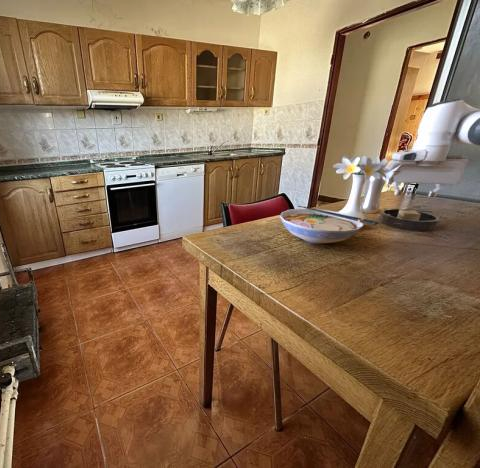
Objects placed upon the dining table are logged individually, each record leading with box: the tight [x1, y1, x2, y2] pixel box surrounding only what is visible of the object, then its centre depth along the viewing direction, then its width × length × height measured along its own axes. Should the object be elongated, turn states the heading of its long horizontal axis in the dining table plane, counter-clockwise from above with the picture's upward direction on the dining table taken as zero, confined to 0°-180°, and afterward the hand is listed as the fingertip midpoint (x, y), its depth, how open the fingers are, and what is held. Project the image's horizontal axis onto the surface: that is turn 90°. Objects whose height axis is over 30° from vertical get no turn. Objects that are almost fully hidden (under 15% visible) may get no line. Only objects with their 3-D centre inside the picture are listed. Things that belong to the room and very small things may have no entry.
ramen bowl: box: [279, 205, 380, 245], centre depth 82 cm, size 25×23×8 cm
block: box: [397, 209, 421, 221], centre depth 92 cm, size 4×4×4 cm
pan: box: [378, 208, 440, 232], centre depth 93 cm, size 16×16×4 cm
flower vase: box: [332, 154, 402, 225], centre depth 88 cm, size 13×18×25 cm
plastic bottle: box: [360, 165, 387, 214], centre depth 105 cm, size 6×7×20 cm
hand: (414, 195), depth 90 cm, fingers open, 8 cm apart
